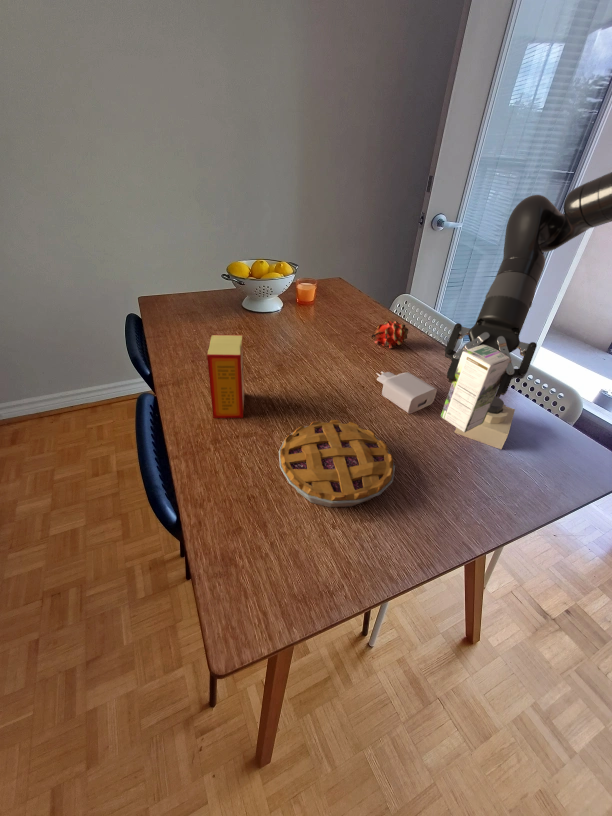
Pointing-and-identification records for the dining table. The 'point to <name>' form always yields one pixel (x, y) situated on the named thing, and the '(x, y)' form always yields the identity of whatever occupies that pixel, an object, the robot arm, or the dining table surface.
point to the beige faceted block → (492, 428)
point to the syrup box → (474, 386)
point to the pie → (336, 463)
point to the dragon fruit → (390, 334)
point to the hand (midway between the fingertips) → (473, 388)
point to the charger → (406, 391)
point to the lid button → (496, 406)
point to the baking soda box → (226, 375)
